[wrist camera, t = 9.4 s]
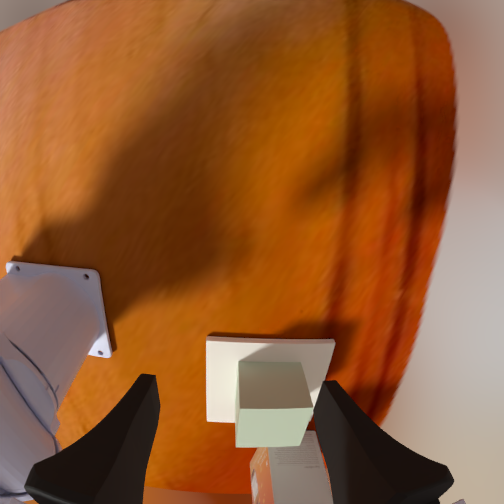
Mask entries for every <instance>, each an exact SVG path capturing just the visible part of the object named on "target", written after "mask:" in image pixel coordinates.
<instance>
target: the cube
mask: <svg viewBox="0 0 504 504" xmlns="http://www.w3.org/2000/svg"><path fill="white" fill-rule="evenodd" d="M313 408H314V407H313V403H312V400H311V396H310V392H309V389H308V385H307V382H306V378H305V374H304V371H303V367H302V364H301V362H247V361H238V371H237V383H236V395H235V429H236V447H287V446H300V444H301V441H302V439H303V436H304V433H305V431H306V428H307V425H308V422H309V419H310V417H311V414H312V411H313Z"/></svg>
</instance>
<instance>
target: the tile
mask: <svg viewBox="0 0 504 504" xmlns="http://www.w3.org/2000/svg"><path fill="white" fill-rule="evenodd" d="M335 344H336V343H335V341H334V339H259V338H234V337H215V336H207V339H206V396H207V421H211V422H231V423H235V395H236V383H237V371H238V361H247V362H301V364H302V367H303V371H304V374H305V378H306V382H307V385H308V389H309V392H310V396H311V400H312V403H313V407H314V406H315V403H316V400H317V397H318V394H319V391H320V388H321V385H322V382H323V381H324V380H325V377H326V374H327V371H328V367H329V364H330V361H331V357H332V354H333V351H334V347H335ZM313 409H314V408H313ZM312 416H313V411H312V414H311V417H310V419H309V421H311V419H312Z"/></svg>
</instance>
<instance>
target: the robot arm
mask: <svg viewBox="0 0 504 504" xmlns="http://www.w3.org/2000/svg"><path fill="white" fill-rule="evenodd" d="M18 267H19V268H18ZM6 269H7V275H6V276H4V277H3V278H2V279H0V504H26V503H24V502H22V501H28V500H33V499H34V500H35V501H36V502H37V503H39V504H142V502H143V491H144V482H145V474H146V469H147V464H148V460H149V456H150V452H151V449H152V445H153V441H154V437H155V434H156V430H157V426H158V420H159V413H160V400H159V394H158V388H157V381H156V375H150V374H141V375H140V376H139V377H138V378H137V380H136V381H135V383H134V384H133V385H132V387H131V388H130V389H129V390H128V392H127V393H126V394H125V395H124V397H123V398H122V399H121V400H120V401H119V403H118V404H117V405H116V406H115V407H114V408H113V409H112V410H111V411H110V412H109V413H108V415H107V416H106V417H105V418H104V419H103V420H102V421H101V422H100V423H98V424H97V425H96V426H95V427H94V428H93V429H92V430H90V431H89V432H88V433H87V434H85V435H84V436H83V437H82V438H80V439H79V440H78V441H76V442H75V443H73V444H72V445H70V446H68V447H67V448H65V449H63V450H62V448H61V446H60V443H59V441H58V440H57V439H56V437H55V434H56V432H57V430H58V428H59V425H60V422H59V421H58V419H57V416H56V413H57V411H58V409H59V407H60V405H61V403H62V401H63V399H64V397H65V395H66V393H67V392H68V390H69V388H70V386H71V384H72V382H73V380H74V378H75V377H76V375H77V373H78V371H79V369H80V368H81V366H82V364H83V362H84V360H85V359H86V357H87V355H93V356H99V357H105V358H110V357H111V355H112V348H111V343H110V338H109V333H108V328H107V322H106V317H105V311H104V304H103V298H102V291H101V283H100V276H99V273H98V272H97V271H96V270H93V269H83V268H73V267H63V266H53V265H43V264H34V263H25V262H16V261H9V262H8V263H7V264H6ZM19 269H20V270H19ZM85 274H87V275H88V276H89V278H87V277H86V275H85ZM101 351H102V352H101ZM313 413H314V420H315V426H316V431H317V435H318V438H319V442H320V445H321V448H322V452H323V455H324V458H325V462H326V465H327V468H328V473H329V477H330V483H331V490H332V497H333V504H440V502H439V499H438V498H439V497H440V496H441V495H443V494H444V493H445V492H446V491H447V490H448V489H449V488H450V487H451V486H452V485H453V483H454V479H453V477H452V475H451V473H450V471H449V469H448V467H447V466H446V465H443V464H440V463H438V462H435V461H432V460H430V459H428V458H426V457H423V456H421V455H419V454H417V453H415V452H414V451H412V450H410V449H409V448H407V447H405V446H404V445H402V444H401V443H399V442H398V441H396V440H395V439H393V438H392V437H391V436H390V435H388V434H387V433H386V432H384V431H383V430H382V429H381V428H380V427H378V426H377V425H376V424H375V423H374V422H373V421H372V420H371V419H370V418H369V417H368V416H367V415H366V414H365V413H364V412H363V411H362V410H361V409H360V408H359V407H358V405H357V404H356V403H355V402H354V401H353V400H352V399H351V398H350V396H349V395H348V394H347V393H346V392H345V390H344V389H343V388H342V387H341V386H340V385H339V383H338V382H337V381H336V380H332V381H323V382H322V385H321V388H320V391H319V394H318V397H317V400H316V403H315V406H314V409H313ZM453 504H466V503H465V501H464V499H461V500H459V501H457V502H455V503H453Z"/></svg>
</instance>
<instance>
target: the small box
mask: <svg viewBox="0 0 504 504" xmlns="http://www.w3.org/2000/svg"><path fill="white" fill-rule="evenodd" d="M250 471H251V488H252V499H253V500H252V501H253V504H333V499H332V495H331V491H330V487H329V482H328V478H327V474H326V470H325V466H324V462H323V458H322V454H321V451H320V447H319V443H318V439H317V435H316V432H315V431H305V433H304V436H303V439H302V441H301V444H300V446H287V447H258V448H257V450H256V452H255V454H254V456H253V458H252V460H251V462H250Z"/></svg>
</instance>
